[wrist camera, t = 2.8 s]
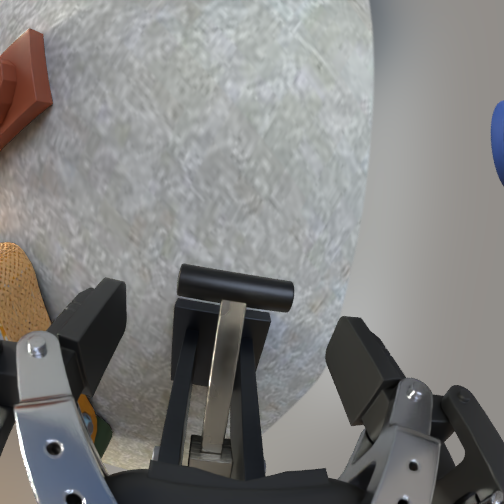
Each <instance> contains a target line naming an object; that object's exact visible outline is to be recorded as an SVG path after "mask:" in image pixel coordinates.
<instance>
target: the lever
mask: <svg viewBox="0 0 504 504" xmlns="http://www.w3.org/2000/svg"><path fill="white" fill-rule="evenodd" d="M177 295H178V296H183V297H188V298H194V299H199V300H205V301H211V302H217V303H220V308H219V315H218V321H217V328H216V334H215V341H214V348H213V354H212V361H211V368H210V375H209V383H208V390H207V397H206V405H205V413H204V420H203V428H202V436H199V435H191V441H190V449H189V458H188V467H195V468H198V469H201V470H204V471H208V472H211V473H214V474H217V475H221V476H224V477H228V478H231V474H232V469H233V464H234V462H233V455H232V448H231V440H230V439H225V433H226V427H227V421H228V415H229V409H230V403H231V397H232V391H233V385H234V379H235V373H236V367H237V361H238V355H239V349H240V343H241V337H242V330H243V324H244V318H245V312H246V307H249V308H256V309H263V310H270V311H278V312H285V313H286V312H289V310H290V309H291V306H292V303H293V299H294V285H293V283H292V282H291V281H285V280H278V279H272V278H266V277H259V276H253V275H247V274H241V273H235V272H229V271H223V270H217V269H212V268H206V267H200V266H195V265H189V264H182V266H181V268H180V272H179V276H178V282H177Z"/></svg>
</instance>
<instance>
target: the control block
mask: <svg viewBox="0 0 504 504" xmlns="http://www.w3.org/2000/svg"><path fill="white" fill-rule="evenodd" d="M52 104H53V101H52V96H51V91H50V85H49V80H48V73H47V66H46V59H45V50H44V39H43V34H41V33H39V32H37V31H35V30H33V29H30V28H29V29H28V30H27V31H26V32H24V33H23V34H22V35H21V36H20V37H19V38H18V39H17V40H16V41H15V42H14V43H13V44H11V45H10V46H9V47H8V48H7V49H6V50H5V51H4V52H3V53H2V55H1V56H0V151H1V150H2V149H3V148H4V147H5V146H6V144H7V143H8V142H10V141H11V140H12V139H13V138H14V137H15V136H16V135H17V134H18V133H19V132H20V131H21V130H22V129H23V128H24V127H25V126H27V125H28V124H29V123H30V122H31V121H32V120H33V119H35V118H36V117H37V116H38V115H39V114H41V113H42V112H43V111H44V110H46V109H47V108H48V107H49V106H51V105H52Z"/></svg>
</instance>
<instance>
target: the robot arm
mask: <svg viewBox="0 0 504 504" xmlns="http://www.w3.org/2000/svg"><path fill="white" fill-rule="evenodd" d="M126 322H127V312H126V284H125V282H124V281H119V280H115V279H110V278H104V279H103V280H102V281H101V282H100V283H99V284H98V285H97V286H96V288H95V289H94V288H89V289H87V290H85V291H83V292H81V293H79V294H78V295H77V296H76V297H75V298H74V299H73V301H72V303H70V304H69V305H68V306H67V307H66V309H64V310H63V312H62V313H61V314H60V315H59V316H58V317H57V318H56V320H55V321H54V322H53V323H52V324H51V325H50V327H49V328H48V329H47V330H46V331H32V332H29V333H27V334H25V335H24V336H22V337H21V338H20V339H19V341H18V342H12V341H6V340H0V456H1V453H2V451H3V448H4V446H5V443H6V441H7V439H8V436H9V434H10V431H11V430H12V427H13V425H14V423H15V424H16V429H17V435H18V440H19V444H20V449H21V453H22V457H23V461H24V465H25V468H26V471H27V474H28V478H29V482H30V485H31V488H32V490H33V493H34V496H35V499H36V501H37V504H504V442H503V440H502V439H501V437H500V435H499V434H498V432H497V430H496V429H495V427H494V426H493V424H492V423H491V421H490V419H489V418H488V416H487V415H486V413H485V412H484V410H483V409H482V407H481V406H480V404H479V403H478V401H477V400H476V398H475V397H474V396H473V394H472V393H471V392H470V391H469V390H468V389H466V388H464V387H462V386H459V385H454V386H452V387H451V388H450V389H449V390H448V392H447V393H446V394H445V395H444V396H440V395H433V394H432V392H431V390H430V389H429V388H428V386H427V385H426V384H424V383H423V382H421V381H419V380H417V379H414V378H406V377H405V375H404V374H403V372H402V371H401V370H400V368H399V366H398V365H397V363H396V362H395V360H394V359H393V357H392V356H390V353H389V351H388V350H387V349H385V346H384V344H383V343H382V341H381V340H380V338H378V337H377V336H376V335H375V334H374V333H372V332H371V331H370V330H369V328H368V327H367V326H366V324H365V323H364V321H363V320H362V319H361V318H358V317H347V316H342V317H341V318H340V319H339V321H338V323H337V325H336V328H335V330H334V333H333V335H332V337H331V339H330V342H329V344H328V346H327V349H326V354H325V359H326V364H327V366H328V369H329V371H330V373H331V376H332V379H333V381H334V384H335V386H336V389H337V391H338V394H339V396H340V399H341V401H342V404H343V406H344V409H345V412H346V414H347V417H348V419H349V422H350V424H351V426H356V425H364V426H365V429H364V430H363V431H362V433H361V435H360V437H359V439H358V442H357V444H356V446H355V449H354V451H353V454H352V455H351V458H350V460H349V462H348V464H347V466H346V468H345V470H344V472H343V473H342V474H341V476H340V477H339V478H338V479H332V478H328V476H327V472H326V469H325V468H323V469H315V470H302V471H287V472H283V473H279V474H275V475H271V476H267V477H262V478H257V479H252V480H247V481H240V480H235V479H232V478H228V477H224V476H221V475H217V474H214V473H211V472H208V471H204V470H201V469H198V468H195V467H188V466H182V465H176V464H170V463H165V462H160V461H155V460H150V465H149V469H136V470H128V471H122V472H118V473H115V474H112V475H109V474H108V472H107V470H106V468H105V466H104V464H103V462H102V460H101V458H100V456H99V454H98V452H97V450H96V448H95V445H94V443H93V441H92V438H91V436H90V433H89V431H88V428H87V426H86V423H85V421H84V418H83V415H82V412H81V410H80V407H79V404H78V399H79V397H80V395H81V393H82V394H84V395H87V396H90V397H93V395H94V393H95V391H96V389H97V386H98V384H99V382H100V380H101V378H102V376H103V374H104V372H105V370H106V368H107V366H108V364H109V362H110V360H111V358H112V356H113V354H114V352H115V350H116V348H117V346H118V344H119V342H120V340H121V338H122V336H123V334H124V332H125V328H126ZM454 431H455V432H456V434H457V436H458V438H459V440H460V442H461V443H462V445H463V447H464V449H465V457H464V459H463V461H462V462H461V463H460V464H459V465H457V466H455V464H454V462H453V460H452V458H451V456H450V453H449V451H448V450H447V447H446V445H445V443H444V442H445V441H446V439H448V438H449V437H450V436H451V435H452V434H453V432H454Z"/></svg>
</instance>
